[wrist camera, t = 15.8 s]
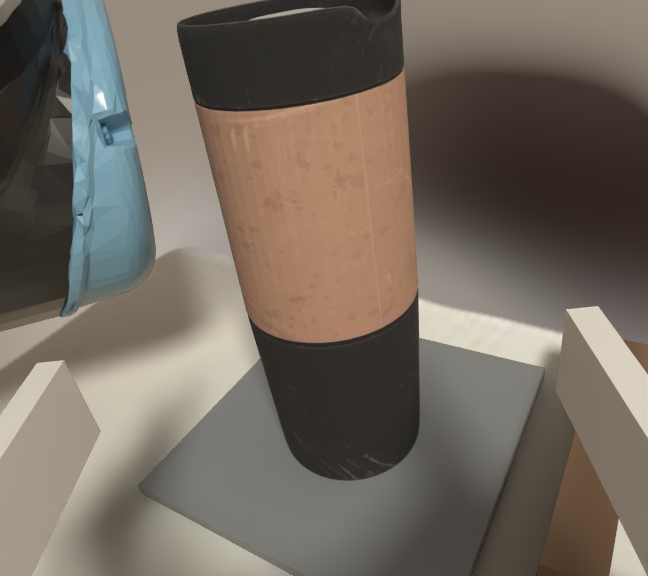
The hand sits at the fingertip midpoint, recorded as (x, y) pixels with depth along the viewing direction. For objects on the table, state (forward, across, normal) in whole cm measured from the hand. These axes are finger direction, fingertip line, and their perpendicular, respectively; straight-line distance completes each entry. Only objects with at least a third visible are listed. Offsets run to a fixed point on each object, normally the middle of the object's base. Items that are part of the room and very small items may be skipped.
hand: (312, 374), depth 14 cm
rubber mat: (+9, 0, -12) cm, 16 cm away
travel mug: (+9, 0, -12) cm, 15 cm away
